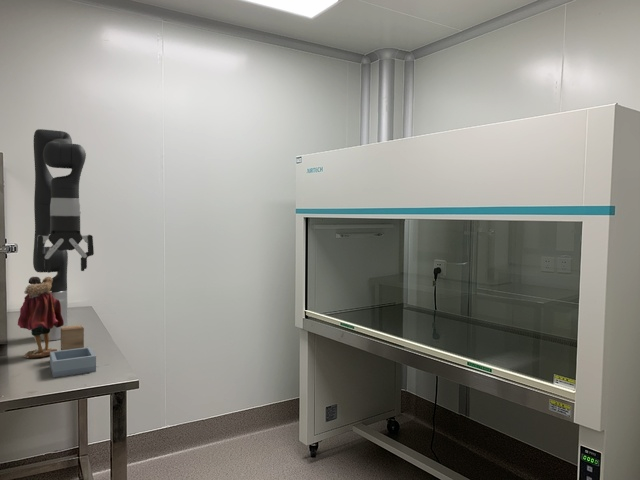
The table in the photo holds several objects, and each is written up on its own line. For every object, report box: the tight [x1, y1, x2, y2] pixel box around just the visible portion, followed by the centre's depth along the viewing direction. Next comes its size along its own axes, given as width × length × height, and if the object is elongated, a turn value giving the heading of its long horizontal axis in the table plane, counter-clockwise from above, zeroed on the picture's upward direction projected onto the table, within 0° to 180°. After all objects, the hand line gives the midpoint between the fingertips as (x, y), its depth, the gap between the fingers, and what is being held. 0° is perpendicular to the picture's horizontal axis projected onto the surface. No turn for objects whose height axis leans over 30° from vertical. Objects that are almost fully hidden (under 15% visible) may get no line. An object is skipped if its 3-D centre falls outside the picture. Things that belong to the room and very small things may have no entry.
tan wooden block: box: [60, 324, 85, 351], centre depth 154 cm, size 5×6×10 cm
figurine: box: [17, 276, 64, 359], centre depth 157 cm, size 12×11×25 cm
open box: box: [49, 346, 97, 378], centre depth 144 cm, size 11×11×4 cm
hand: (65, 271), depth 139 cm, fingers open, 8 cm apart
